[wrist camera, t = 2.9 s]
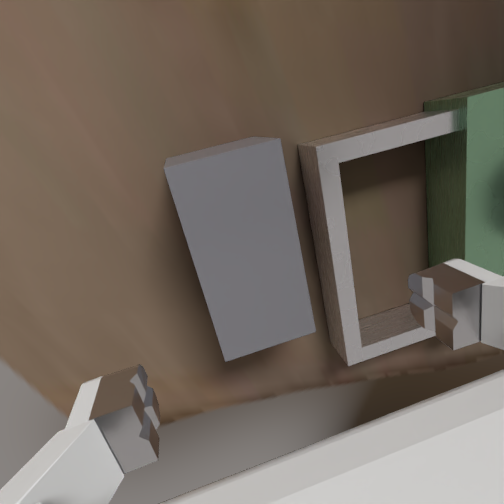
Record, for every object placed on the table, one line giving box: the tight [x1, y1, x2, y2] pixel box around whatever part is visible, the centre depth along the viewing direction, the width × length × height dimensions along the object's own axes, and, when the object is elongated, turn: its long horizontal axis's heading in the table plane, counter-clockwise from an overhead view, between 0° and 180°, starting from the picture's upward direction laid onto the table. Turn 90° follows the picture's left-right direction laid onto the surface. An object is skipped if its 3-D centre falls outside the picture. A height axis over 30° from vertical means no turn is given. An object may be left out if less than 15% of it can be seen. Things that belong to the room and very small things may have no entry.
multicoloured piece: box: [298, 82, 504, 366], centre depth 19 cm, size 14×20×6 cm
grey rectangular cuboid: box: [164, 137, 316, 362], centre depth 17 cm, size 9×4×5 cm, turn 14°
